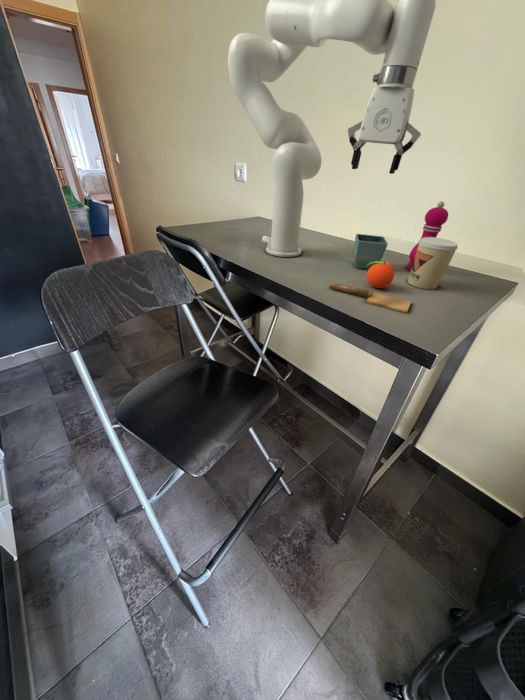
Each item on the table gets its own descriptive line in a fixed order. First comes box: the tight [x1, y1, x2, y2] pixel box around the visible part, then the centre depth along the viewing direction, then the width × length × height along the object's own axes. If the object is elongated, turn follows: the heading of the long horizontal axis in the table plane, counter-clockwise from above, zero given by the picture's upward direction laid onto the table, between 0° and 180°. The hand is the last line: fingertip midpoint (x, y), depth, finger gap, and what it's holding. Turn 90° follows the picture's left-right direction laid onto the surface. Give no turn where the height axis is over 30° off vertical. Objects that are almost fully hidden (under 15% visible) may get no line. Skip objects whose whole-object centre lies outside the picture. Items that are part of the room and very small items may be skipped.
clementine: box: [366, 260, 395, 289], centre depth 77 cm, size 8×7×7 cm
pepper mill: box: [406, 200, 449, 272], centre depth 87 cm, size 7×7×20 cm
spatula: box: [329, 281, 412, 314], centre depth 72 cm, size 20×6×2 cm, turn 59°
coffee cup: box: [407, 237, 459, 290], centre depth 79 cm, size 9×9×12 cm
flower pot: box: [353, 233, 389, 270], centre depth 90 cm, size 9×9×9 cm
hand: (372, 171), depth 74 cm, fingers open, 9 cm apart
